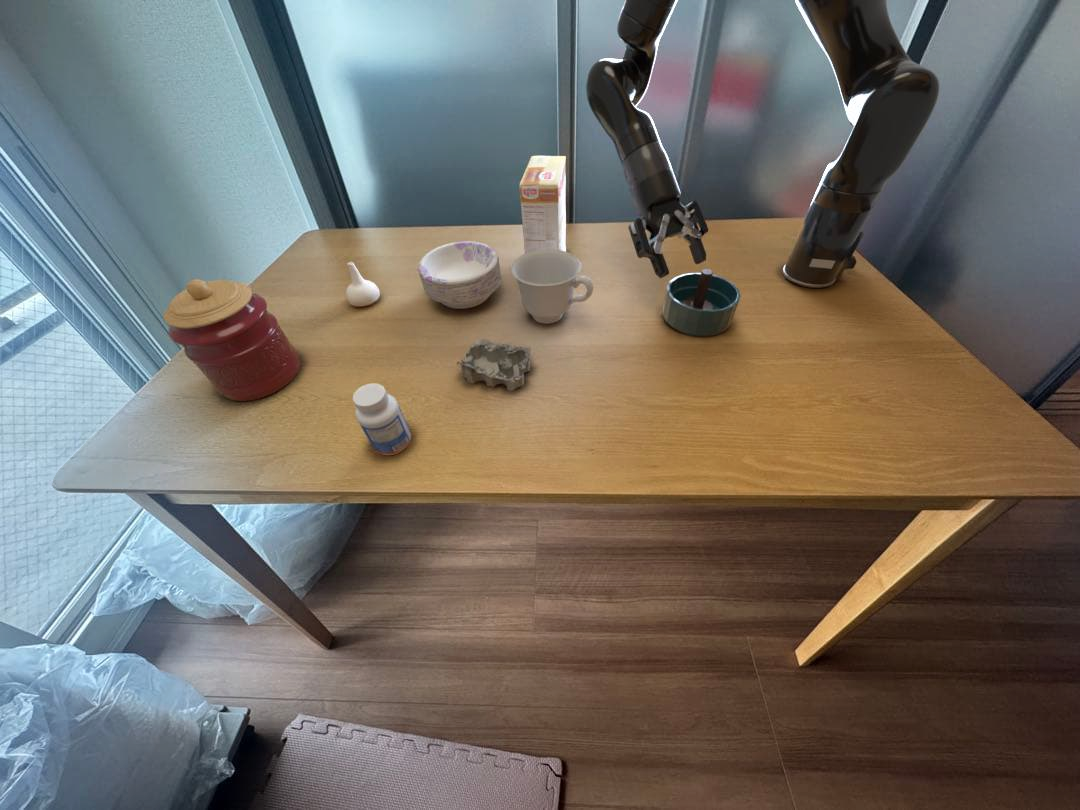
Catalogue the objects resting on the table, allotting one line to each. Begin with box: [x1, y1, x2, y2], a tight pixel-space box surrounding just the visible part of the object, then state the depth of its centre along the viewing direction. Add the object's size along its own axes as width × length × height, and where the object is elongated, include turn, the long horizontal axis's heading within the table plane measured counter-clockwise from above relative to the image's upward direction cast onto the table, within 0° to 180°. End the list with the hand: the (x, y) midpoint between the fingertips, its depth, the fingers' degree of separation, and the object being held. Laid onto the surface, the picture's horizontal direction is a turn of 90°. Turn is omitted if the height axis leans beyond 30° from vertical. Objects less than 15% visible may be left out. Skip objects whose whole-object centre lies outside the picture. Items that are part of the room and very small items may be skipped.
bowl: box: [661, 272, 742, 337], centre depth 73 cm, size 12×12×6 cm
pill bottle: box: [352, 382, 412, 456], centre depth 55 cm, size 6×5×10 cm
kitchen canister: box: [163, 279, 301, 402], centre depth 63 cm, size 13×13×18 cm
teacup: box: [510, 249, 594, 325], centre depth 74 cm, size 12×15×10 cm
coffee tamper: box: [683, 268, 714, 310], centre depth 72 cm, size 5×5×8 cm
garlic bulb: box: [345, 261, 381, 307], centre depth 81 cm, size 6×6×8 cm
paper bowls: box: [417, 240, 502, 310], centre depth 81 cm, size 15×15×8 cm
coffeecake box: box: [518, 155, 567, 254], centre depth 83 cm, size 15×7×20 cm, turn 172°
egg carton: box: [456, 339, 532, 391], centre depth 66 cm, size 11×8×4 cm
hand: (683, 269), depth 73 cm, fingers open, 8 cm apart
